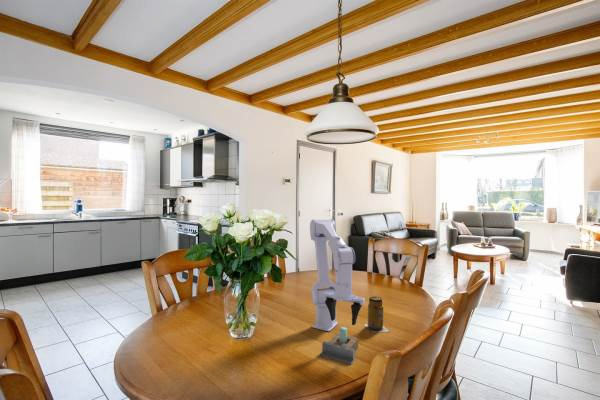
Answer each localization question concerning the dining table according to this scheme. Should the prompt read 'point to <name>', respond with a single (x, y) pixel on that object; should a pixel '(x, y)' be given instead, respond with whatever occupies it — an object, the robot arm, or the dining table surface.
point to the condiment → (375, 315)
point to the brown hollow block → (351, 342)
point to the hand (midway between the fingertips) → (343, 321)
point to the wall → (338, 352)
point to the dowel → (343, 335)
